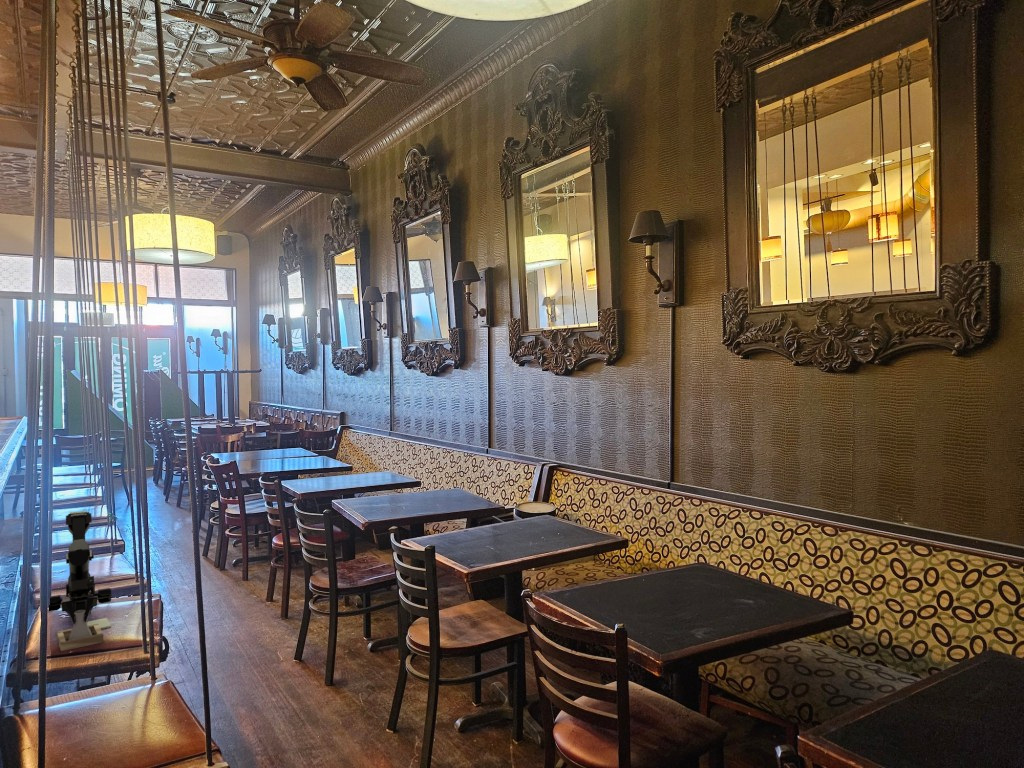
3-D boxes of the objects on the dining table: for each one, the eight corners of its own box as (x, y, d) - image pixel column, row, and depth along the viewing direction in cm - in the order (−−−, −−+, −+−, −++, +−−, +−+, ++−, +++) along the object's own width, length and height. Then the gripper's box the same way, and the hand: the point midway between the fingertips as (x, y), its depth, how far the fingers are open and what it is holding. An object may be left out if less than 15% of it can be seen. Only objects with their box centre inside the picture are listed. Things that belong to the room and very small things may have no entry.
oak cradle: (57, 638, 231) (56, 631, 231) (98, 630, 238) (98, 623, 238) (60, 651, 222) (60, 643, 222) (103, 642, 229) (103, 634, 229)
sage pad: (77, 625, 243) (77, 623, 243) (106, 619, 248) (106, 617, 248) (81, 633, 236) (81, 631, 236) (111, 627, 241) (110, 625, 241)
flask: (83, 645, 226) (83, 615, 226) (62, 644, 227) (61, 615, 226) (97, 636, 234) (97, 607, 233) (76, 635, 234) (76, 607, 233)
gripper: (46, 573, 227) (45, 616, 218) (110, 564, 237) (112, 606, 229) (47, 589, 234) (46, 632, 225) (110, 580, 244) (111, 621, 235)
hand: (79, 622), depth 229 cm, fingers closed on flask, 3 cm apart
